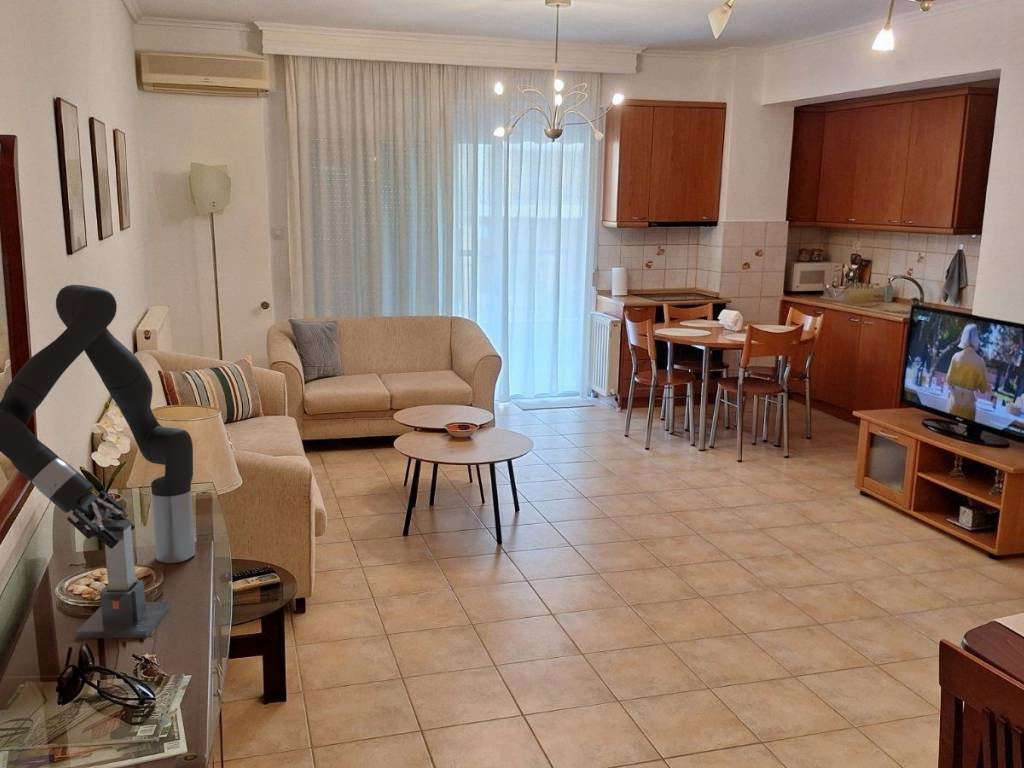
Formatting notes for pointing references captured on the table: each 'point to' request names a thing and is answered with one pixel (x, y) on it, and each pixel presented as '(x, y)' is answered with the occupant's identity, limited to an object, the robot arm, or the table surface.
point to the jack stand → (124, 615)
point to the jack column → (120, 557)
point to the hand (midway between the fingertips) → (124, 537)
